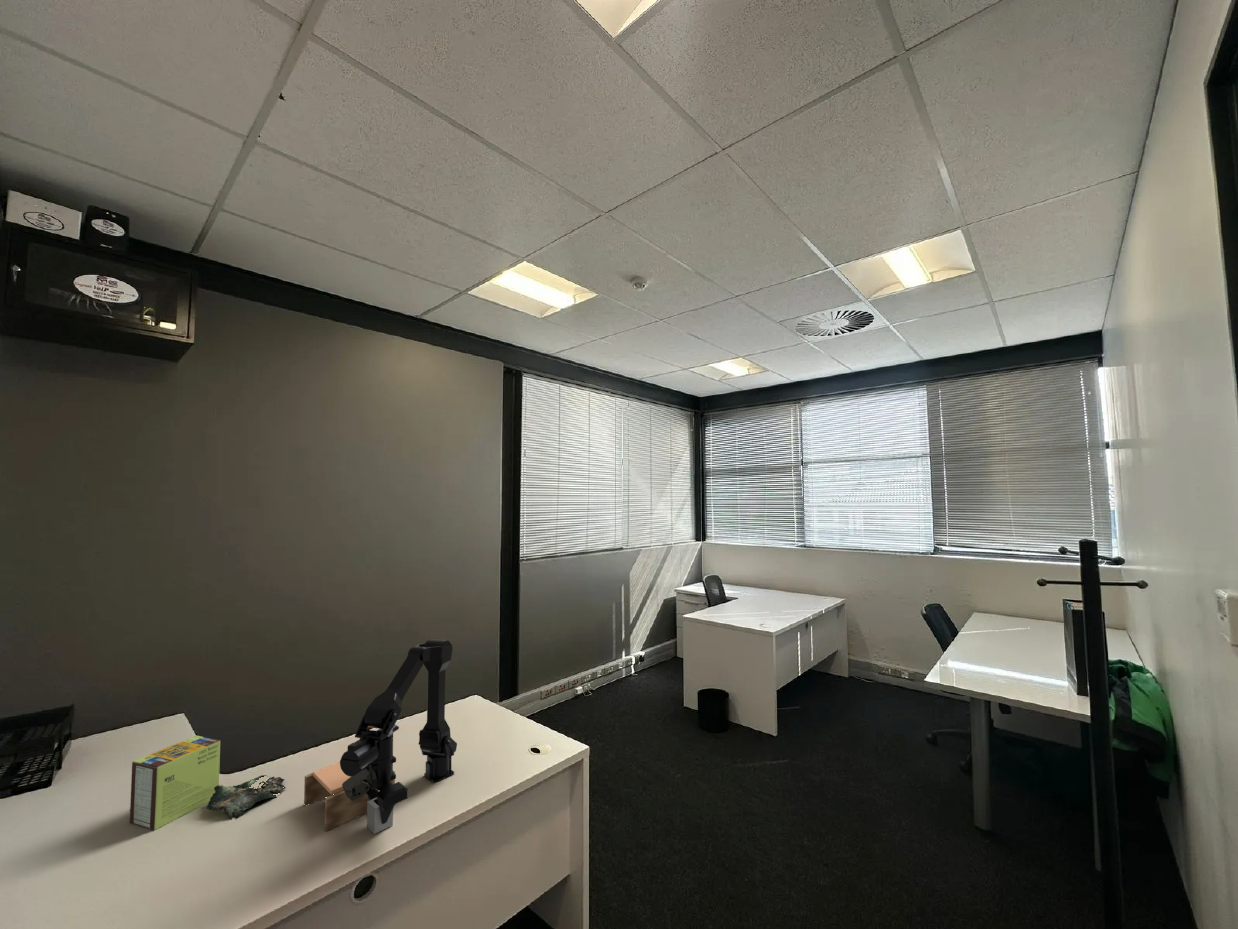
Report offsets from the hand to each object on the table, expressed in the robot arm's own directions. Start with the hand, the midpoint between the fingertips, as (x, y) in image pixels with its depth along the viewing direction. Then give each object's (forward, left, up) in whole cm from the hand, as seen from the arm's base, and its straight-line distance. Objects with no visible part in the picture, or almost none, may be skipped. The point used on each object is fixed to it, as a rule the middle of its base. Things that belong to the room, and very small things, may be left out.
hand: (380, 819), depth 127 cm
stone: (0, 0, -2) cm, 2 cm away
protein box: (+33, -50, -2) cm, 60 cm away
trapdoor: (0, -17, +2) cm, 17 cm away
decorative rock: (+18, -41, -2) cm, 45 cm away
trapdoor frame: (+1, -17, -2) cm, 17 cm away
